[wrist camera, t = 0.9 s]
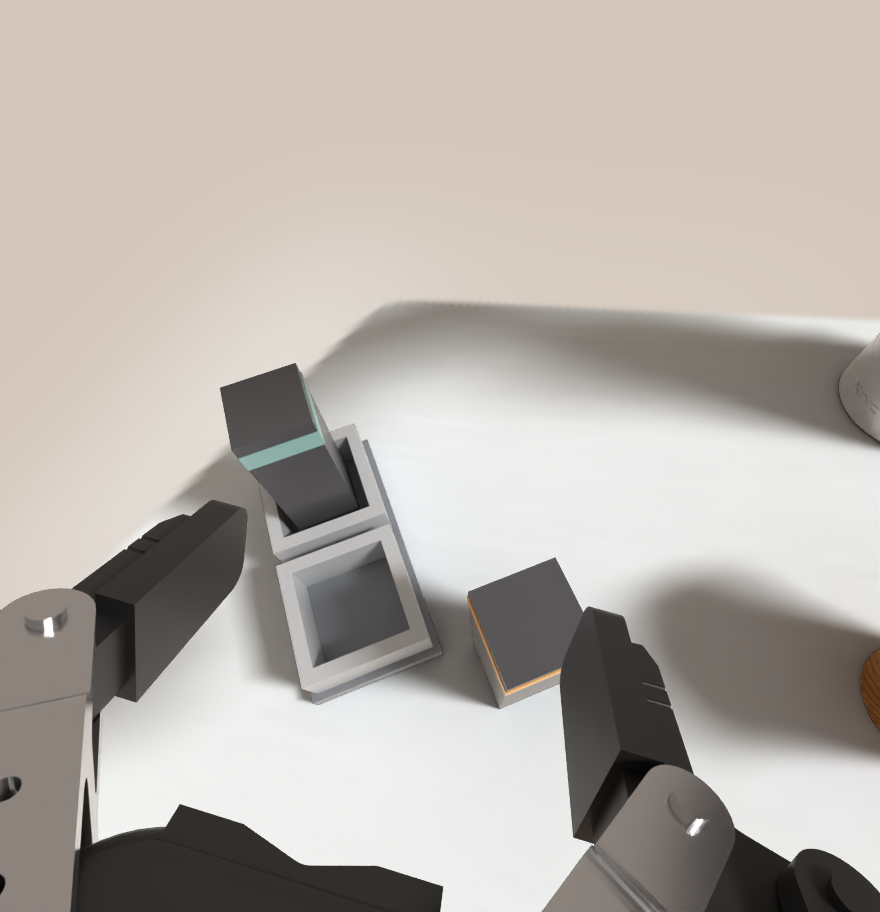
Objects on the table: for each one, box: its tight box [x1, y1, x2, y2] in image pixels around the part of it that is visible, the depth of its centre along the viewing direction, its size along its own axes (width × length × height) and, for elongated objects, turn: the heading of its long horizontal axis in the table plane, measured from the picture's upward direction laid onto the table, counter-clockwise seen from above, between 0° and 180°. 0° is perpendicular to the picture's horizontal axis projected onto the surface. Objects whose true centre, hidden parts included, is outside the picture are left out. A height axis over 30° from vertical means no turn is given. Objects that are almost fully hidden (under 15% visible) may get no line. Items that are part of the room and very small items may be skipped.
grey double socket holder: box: [258, 424, 443, 705], centre depth 33 cm, size 8×16×4 cm, turn 20°
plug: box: [467, 558, 583, 709], centre depth 26 cm, size 4×4×12 cm
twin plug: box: [220, 363, 361, 531], centre depth 31 cm, size 4×4×12 cm
